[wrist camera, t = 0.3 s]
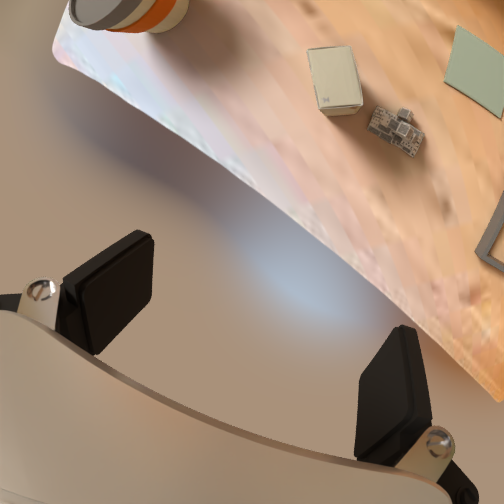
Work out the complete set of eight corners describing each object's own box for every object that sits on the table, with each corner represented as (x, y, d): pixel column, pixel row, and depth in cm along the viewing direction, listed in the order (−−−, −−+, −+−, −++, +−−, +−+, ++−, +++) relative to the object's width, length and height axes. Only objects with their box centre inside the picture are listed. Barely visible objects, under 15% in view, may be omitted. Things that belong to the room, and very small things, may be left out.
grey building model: (447, 112, 29) (469, 111, 22) (420, 164, 33) (437, 174, 26) (390, 75, 29) (402, 64, 23) (364, 129, 34) (369, 130, 27)
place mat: (456, 26, 22) (457, 25, 21) (511, 63, 21) (512, 63, 20) (443, 81, 27) (444, 81, 26) (499, 118, 26) (500, 118, 25)
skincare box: (357, 114, 33) (365, 109, 22) (324, 116, 34) (318, 113, 24) (348, 67, 30) (352, 43, 20) (315, 71, 32) (305, 48, 21)
